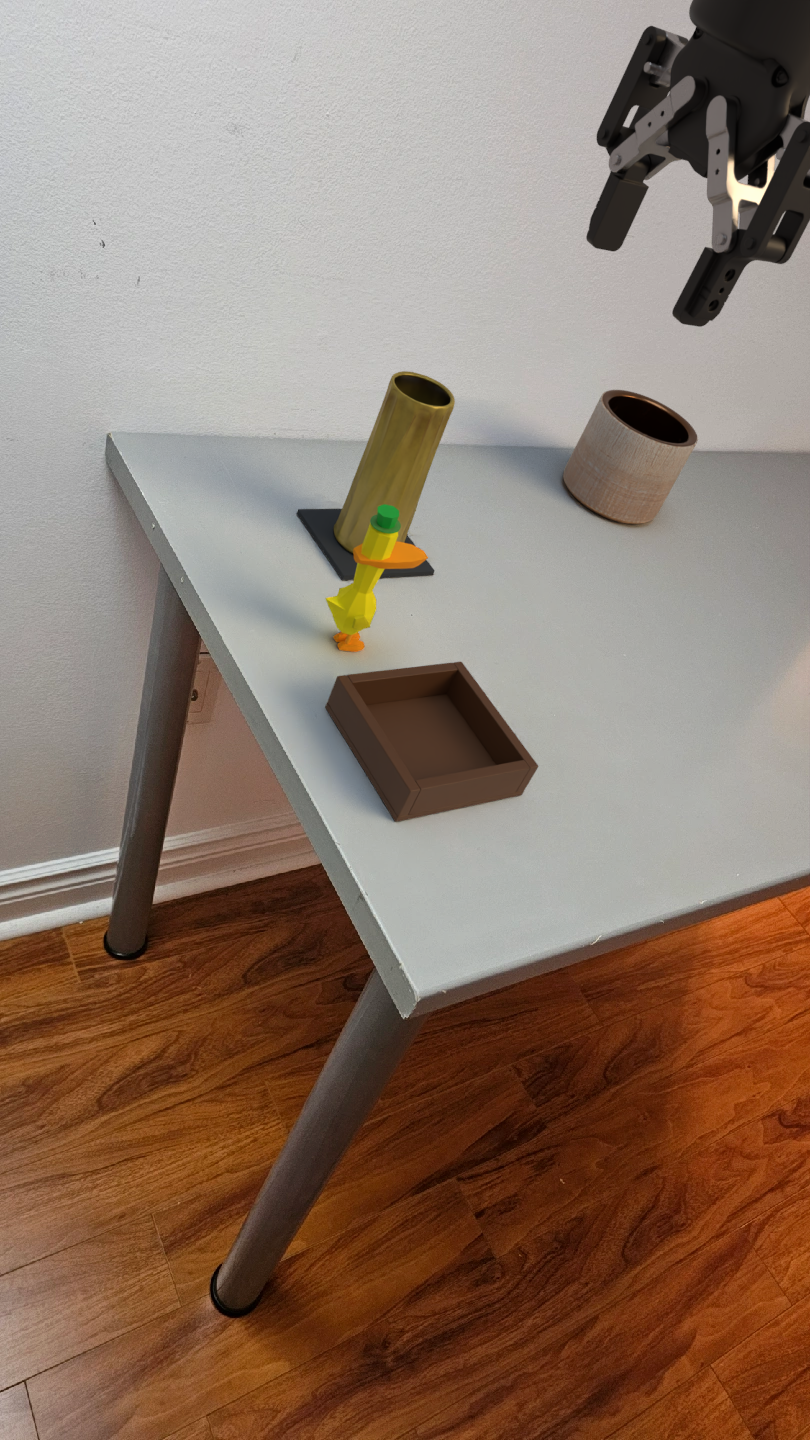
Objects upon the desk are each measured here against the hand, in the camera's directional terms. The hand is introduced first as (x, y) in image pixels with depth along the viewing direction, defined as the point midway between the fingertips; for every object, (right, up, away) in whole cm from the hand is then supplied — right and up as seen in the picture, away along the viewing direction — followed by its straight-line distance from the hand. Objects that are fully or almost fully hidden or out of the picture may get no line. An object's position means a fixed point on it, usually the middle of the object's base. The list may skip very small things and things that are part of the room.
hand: (642, 283), depth 58 cm
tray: (-12, -26, +15) cm, 33 cm away
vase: (-16, -9, +32) cm, 37 cm away
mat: (-16, -9, +32) cm, 37 cm away
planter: (+8, 0, +54) cm, 55 cm away
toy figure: (-17, -18, +22) cm, 33 cm away
